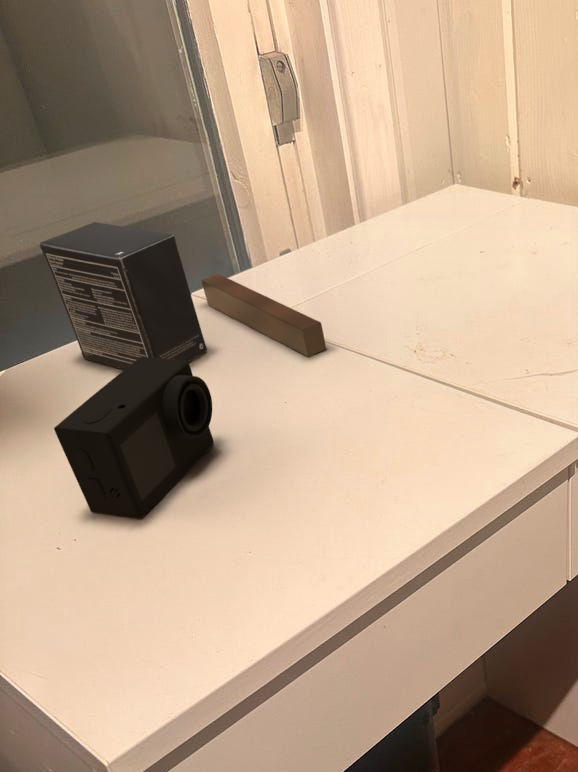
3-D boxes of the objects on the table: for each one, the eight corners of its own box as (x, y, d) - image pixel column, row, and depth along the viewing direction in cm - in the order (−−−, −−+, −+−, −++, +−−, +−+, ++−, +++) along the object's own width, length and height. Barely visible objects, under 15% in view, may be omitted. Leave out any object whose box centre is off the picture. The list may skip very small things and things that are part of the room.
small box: (213, 350, 83) (178, 231, 76) (160, 381, 79) (118, 259, 72) (134, 330, 88) (94, 217, 81) (81, 359, 84) (34, 242, 77)
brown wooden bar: (208, 305, 91) (200, 280, 89) (225, 298, 92) (218, 273, 90) (308, 357, 81) (302, 330, 79) (326, 349, 82) (321, 322, 80)
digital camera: (155, 523, 63) (120, 434, 59) (90, 513, 65) (51, 426, 60) (228, 445, 70) (203, 360, 66) (168, 438, 72) (139, 355, 67)
